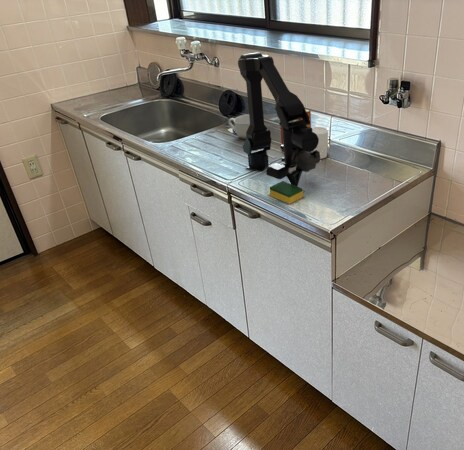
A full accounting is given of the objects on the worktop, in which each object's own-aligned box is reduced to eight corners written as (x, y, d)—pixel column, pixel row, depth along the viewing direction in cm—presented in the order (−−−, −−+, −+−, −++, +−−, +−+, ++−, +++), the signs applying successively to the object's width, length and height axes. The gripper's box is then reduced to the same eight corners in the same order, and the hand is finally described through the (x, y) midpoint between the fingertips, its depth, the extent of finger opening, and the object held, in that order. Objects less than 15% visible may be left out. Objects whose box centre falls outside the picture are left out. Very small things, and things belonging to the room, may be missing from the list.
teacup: (266, 134, 200) (264, 116, 196) (251, 142, 193) (249, 123, 189) (240, 130, 207) (238, 112, 203) (224, 138, 200) (222, 119, 195)
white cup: (327, 160, 173) (326, 134, 168) (306, 159, 175) (305, 133, 169) (329, 152, 180) (329, 126, 174) (309, 151, 181) (308, 126, 176)
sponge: (270, 195, 151) (269, 187, 149) (283, 189, 154) (282, 180, 153) (289, 204, 145) (289, 195, 144) (303, 197, 149) (302, 188, 147)
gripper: (289, 157, 133) (292, 206, 141) (332, 138, 144) (333, 184, 152) (262, 149, 140) (267, 195, 148) (306, 131, 151) (308, 176, 159)
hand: (295, 188), depth 151 cm, fingers closed
